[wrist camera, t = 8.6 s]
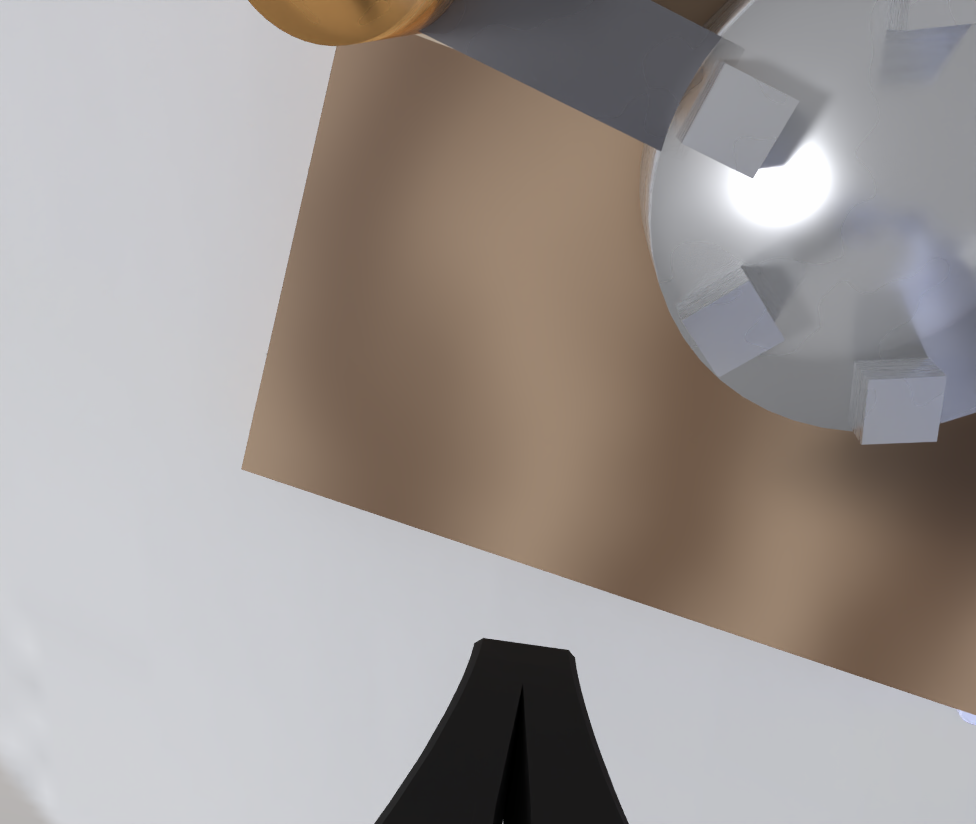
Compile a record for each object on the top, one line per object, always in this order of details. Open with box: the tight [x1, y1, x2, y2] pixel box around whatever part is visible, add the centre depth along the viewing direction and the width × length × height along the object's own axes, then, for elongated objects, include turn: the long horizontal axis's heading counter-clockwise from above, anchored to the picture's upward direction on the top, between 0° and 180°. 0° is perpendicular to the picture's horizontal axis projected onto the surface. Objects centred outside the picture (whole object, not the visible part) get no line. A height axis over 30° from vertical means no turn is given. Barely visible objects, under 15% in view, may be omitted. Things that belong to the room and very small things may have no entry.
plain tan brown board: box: [242, 0, 976, 715], centre depth 16 cm, size 21×22×2 cm
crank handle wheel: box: [248, 0, 976, 445], centre depth 12 cm, size 14×8×6 cm, turn 66°
